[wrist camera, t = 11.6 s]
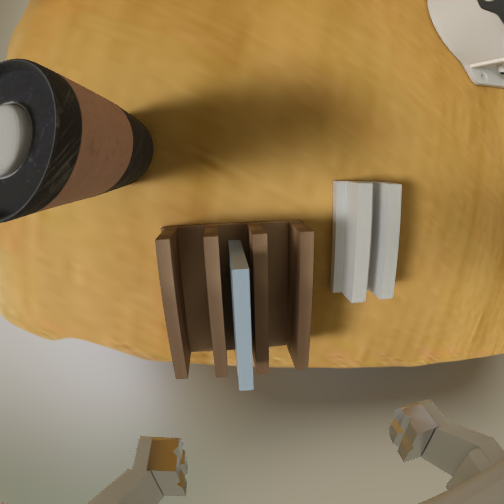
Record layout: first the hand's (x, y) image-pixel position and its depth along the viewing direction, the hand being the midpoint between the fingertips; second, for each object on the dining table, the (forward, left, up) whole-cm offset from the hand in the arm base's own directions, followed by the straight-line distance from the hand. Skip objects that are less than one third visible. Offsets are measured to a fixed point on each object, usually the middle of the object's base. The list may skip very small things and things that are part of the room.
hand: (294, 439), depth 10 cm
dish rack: (+1, +3, -24) cm, 24 cm away
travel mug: (+12, -12, -24) cm, 29 cm away
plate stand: (-13, -2, -24) cm, 27 cm away
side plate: (+1, +3, -23) cm, 23 cm away
